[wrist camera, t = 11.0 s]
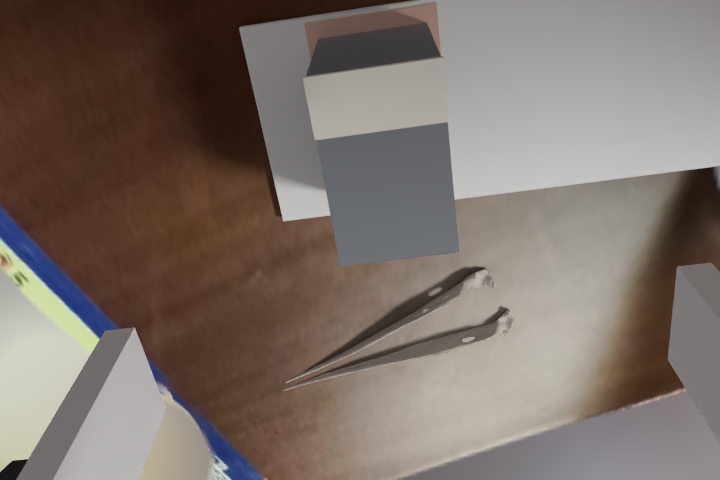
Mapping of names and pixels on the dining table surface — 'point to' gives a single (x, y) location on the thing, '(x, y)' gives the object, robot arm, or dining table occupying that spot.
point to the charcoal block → (384, 143)
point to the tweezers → (425, 348)
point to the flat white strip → (519, 90)
